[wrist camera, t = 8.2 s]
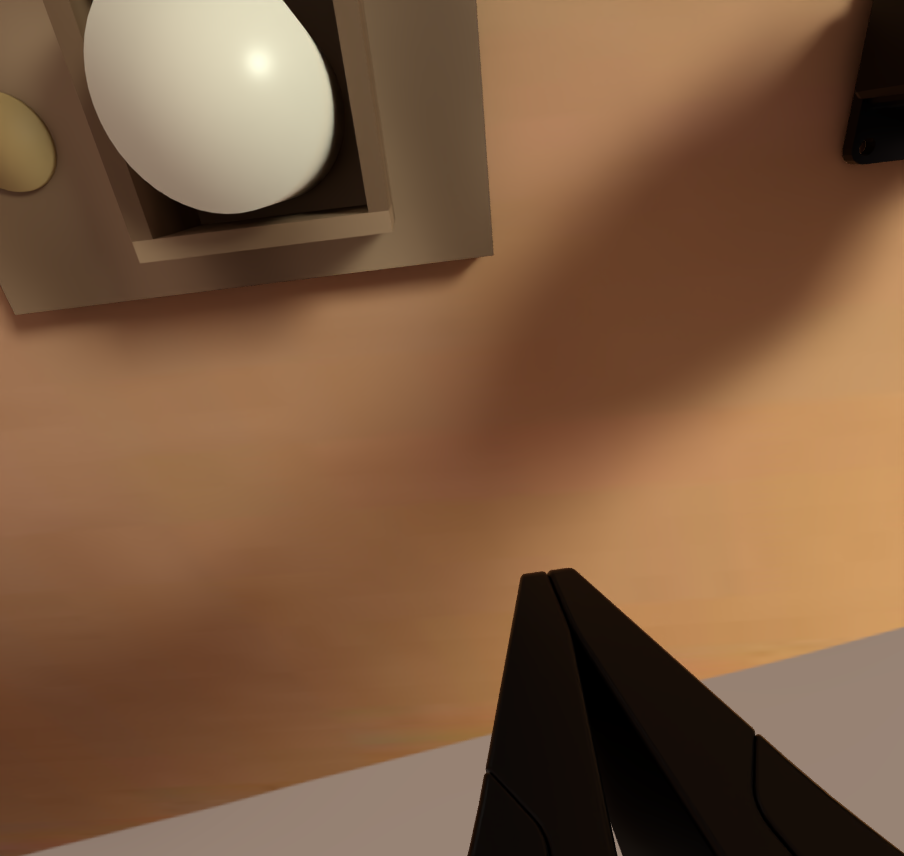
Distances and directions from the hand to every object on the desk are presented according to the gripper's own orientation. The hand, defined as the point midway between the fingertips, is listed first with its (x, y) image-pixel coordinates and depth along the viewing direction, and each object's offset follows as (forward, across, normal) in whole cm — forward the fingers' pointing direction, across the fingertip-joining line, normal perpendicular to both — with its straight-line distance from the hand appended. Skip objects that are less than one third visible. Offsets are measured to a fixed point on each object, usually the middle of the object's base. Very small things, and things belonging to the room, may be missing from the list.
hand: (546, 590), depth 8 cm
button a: (+10, +5, -8) cm, 14 cm away
